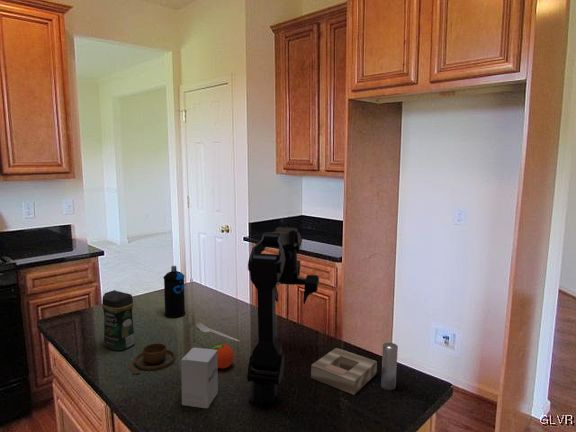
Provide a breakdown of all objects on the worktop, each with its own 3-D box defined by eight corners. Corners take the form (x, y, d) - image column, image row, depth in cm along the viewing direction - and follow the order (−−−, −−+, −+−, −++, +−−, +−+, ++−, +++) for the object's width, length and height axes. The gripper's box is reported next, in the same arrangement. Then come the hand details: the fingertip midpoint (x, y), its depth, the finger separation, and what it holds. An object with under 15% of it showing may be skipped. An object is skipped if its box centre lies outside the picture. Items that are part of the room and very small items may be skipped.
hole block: (353, 394, 112) (354, 380, 111) (311, 377, 120) (311, 364, 120) (376, 373, 123) (376, 360, 123) (335, 359, 131) (336, 347, 131)
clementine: (208, 374, 121) (207, 351, 120) (206, 363, 128) (206, 341, 127) (235, 371, 124) (235, 348, 123) (232, 360, 130) (232, 338, 129)
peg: (392, 391, 114) (394, 350, 112) (378, 386, 116) (380, 346, 115) (397, 385, 117) (400, 345, 115) (384, 380, 120) (386, 341, 118)
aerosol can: (160, 316, 164) (158, 267, 161) (171, 309, 172) (170, 262, 169) (178, 319, 162) (177, 269, 159) (189, 312, 169) (188, 264, 167)
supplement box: (208, 409, 105) (207, 362, 103) (181, 405, 106) (179, 359, 104) (218, 393, 112) (218, 349, 110) (193, 389, 113) (192, 346, 112)
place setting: (169, 347, 140) (169, 330, 139) (206, 367, 127) (206, 349, 126) (119, 366, 127) (118, 348, 126) (155, 391, 114) (154, 371, 113)
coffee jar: (99, 346, 138) (97, 293, 135) (119, 337, 145) (117, 286, 142) (119, 353, 133) (116, 298, 131) (139, 344, 140) (137, 291, 137)
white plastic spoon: (236, 345, 142) (236, 339, 142) (195, 329, 153) (195, 324, 153) (242, 341, 145) (242, 336, 145) (201, 326, 156) (201, 321, 156)
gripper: (320, 251, 137) (321, 289, 144) (266, 248, 140) (269, 285, 147) (316, 270, 127) (317, 310, 134) (257, 266, 131) (261, 305, 138)
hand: (290, 302), depth 139 cm, fingers open, 9 cm apart
